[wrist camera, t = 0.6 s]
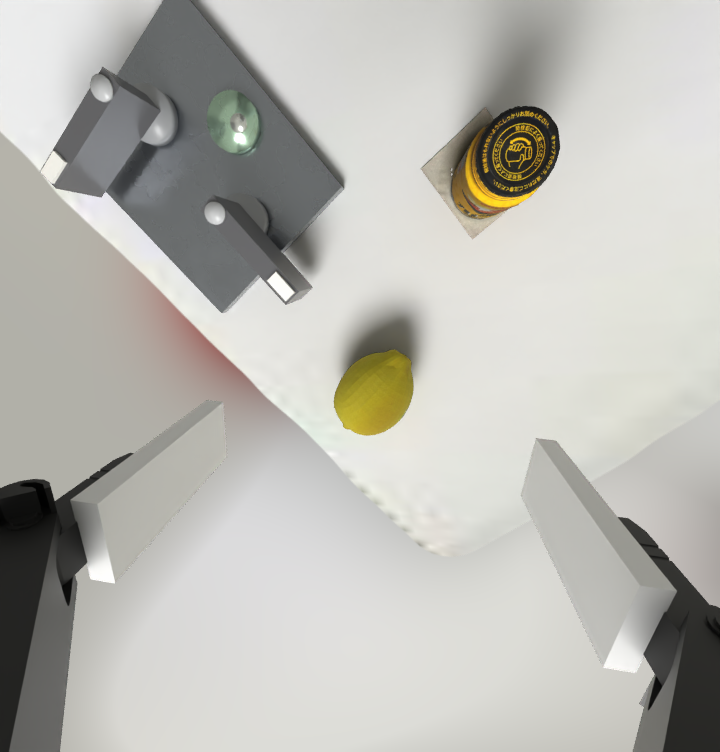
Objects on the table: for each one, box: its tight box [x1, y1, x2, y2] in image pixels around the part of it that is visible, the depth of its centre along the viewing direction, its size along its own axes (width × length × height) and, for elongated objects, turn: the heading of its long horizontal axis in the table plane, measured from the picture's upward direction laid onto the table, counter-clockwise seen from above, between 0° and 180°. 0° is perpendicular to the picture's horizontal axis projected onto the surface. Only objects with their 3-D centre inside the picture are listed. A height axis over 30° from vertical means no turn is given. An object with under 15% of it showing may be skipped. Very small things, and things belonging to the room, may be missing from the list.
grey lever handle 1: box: [40, 67, 178, 197], centre depth 32 cm, size 12×5×6 cm, turn 132°
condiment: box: [421, 106, 560, 239], centre depth 28 cm, size 7×8×12 cm
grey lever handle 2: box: [200, 193, 313, 305], centre depth 34 cm, size 12×5×6 cm, turn 42°
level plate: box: [106, 0, 344, 313], centre depth 36 cm, size 22×19×2 cm
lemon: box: [334, 349, 413, 435], centre depth 38 cm, size 11×8×8 cm
